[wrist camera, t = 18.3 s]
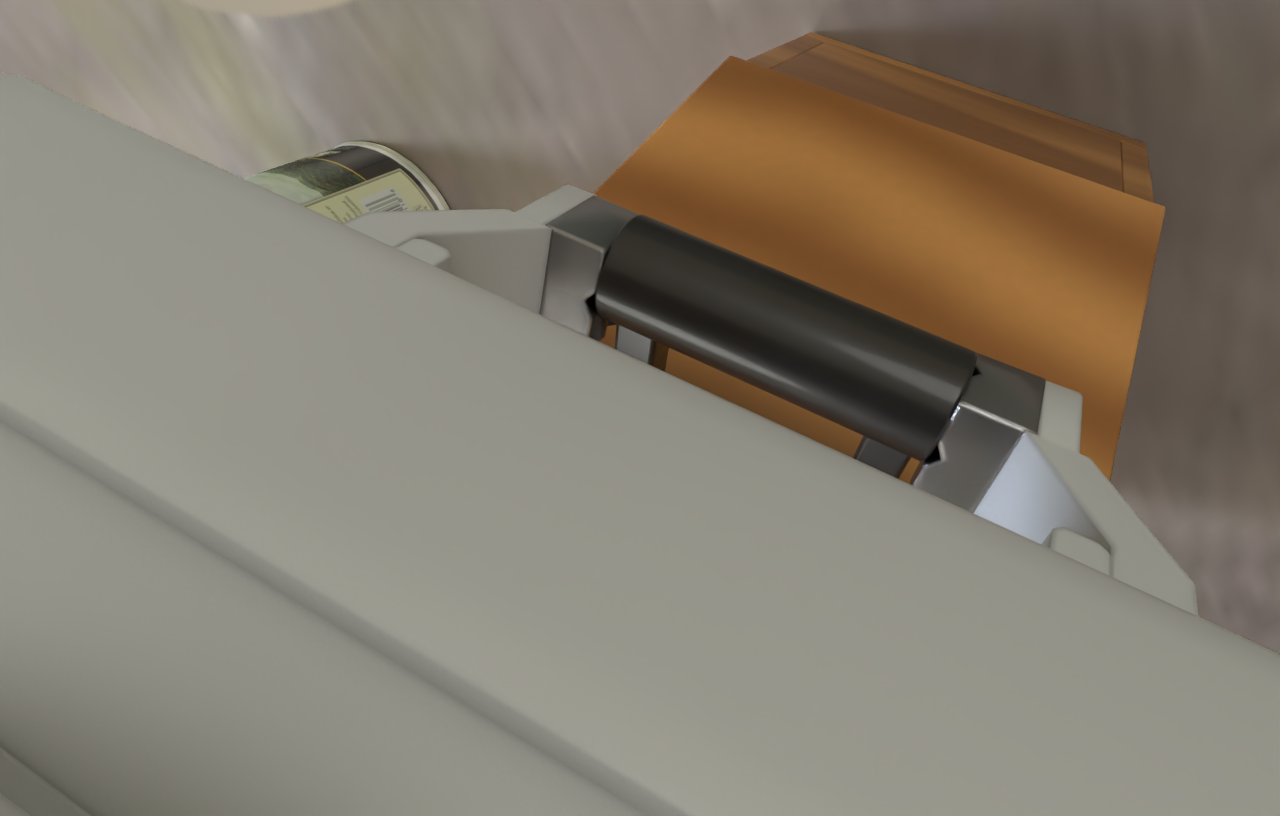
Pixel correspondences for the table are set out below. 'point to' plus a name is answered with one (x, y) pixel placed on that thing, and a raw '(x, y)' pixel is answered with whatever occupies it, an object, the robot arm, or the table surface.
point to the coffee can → (353, 182)
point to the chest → (967, 111)
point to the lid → (867, 267)
